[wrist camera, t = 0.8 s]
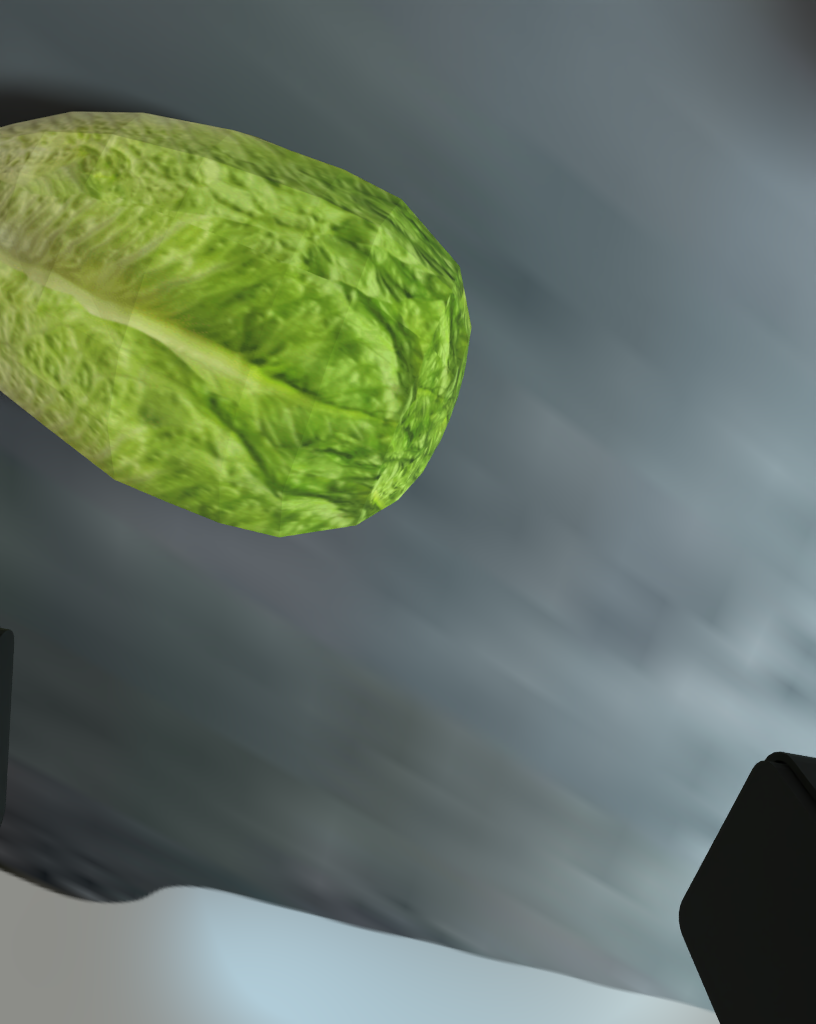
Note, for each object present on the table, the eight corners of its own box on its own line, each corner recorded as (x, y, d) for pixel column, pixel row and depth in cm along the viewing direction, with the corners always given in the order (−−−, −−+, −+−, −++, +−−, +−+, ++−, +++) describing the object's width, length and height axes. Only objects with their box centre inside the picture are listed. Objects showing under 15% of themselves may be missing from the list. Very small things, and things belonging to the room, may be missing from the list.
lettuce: (-117, -124, 22) (-381, 262, 19) (556, 172, 24) (411, 570, 21) (33, 156, 35) (-112, 415, 32) (465, 336, 36) (366, 598, 33)
